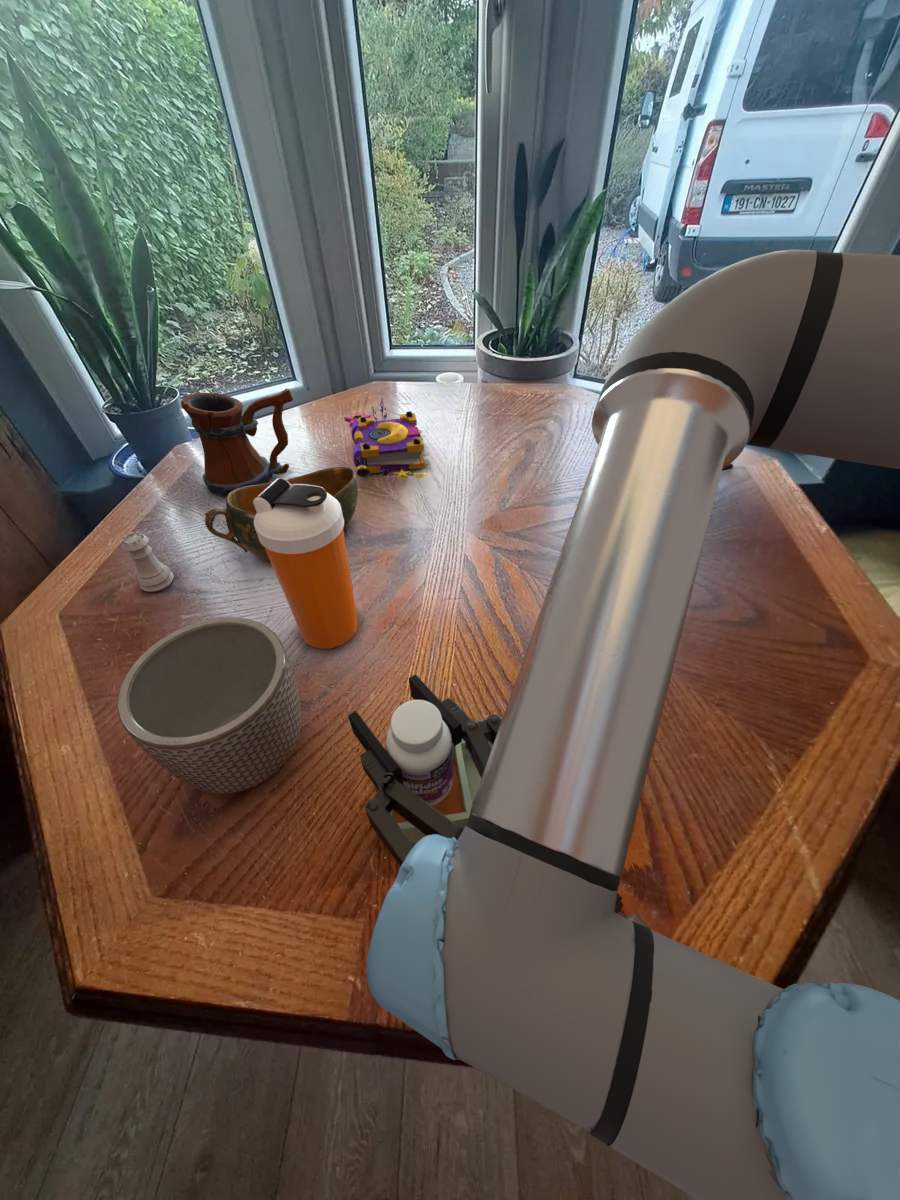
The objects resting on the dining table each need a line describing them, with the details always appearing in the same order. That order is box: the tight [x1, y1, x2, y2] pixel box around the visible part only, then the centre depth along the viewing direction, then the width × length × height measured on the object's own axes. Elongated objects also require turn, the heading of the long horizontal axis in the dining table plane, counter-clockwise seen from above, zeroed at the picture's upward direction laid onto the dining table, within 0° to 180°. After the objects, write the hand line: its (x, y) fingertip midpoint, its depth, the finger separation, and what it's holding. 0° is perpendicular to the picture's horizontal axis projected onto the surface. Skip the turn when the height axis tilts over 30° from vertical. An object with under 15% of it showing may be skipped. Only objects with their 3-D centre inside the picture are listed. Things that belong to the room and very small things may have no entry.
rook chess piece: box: [121, 531, 175, 593], centre depth 70 cm, size 4×4×8 cm
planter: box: [116, 616, 303, 795], centre depth 49 cm, size 14×14×13 cm
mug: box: [179, 388, 294, 498], centre depth 87 cm, size 18×12×15 cm, turn 107°
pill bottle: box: [385, 699, 453, 806], centre depth 43 cm, size 5×5×10 cm
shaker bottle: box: [253, 477, 359, 650], centre depth 58 cm, size 9×9×20 cm
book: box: [343, 397, 427, 482], centre depth 92 cm, size 14×25×12 cm, turn 10°
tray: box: [390, 739, 493, 845], centre depth 48 cm, size 15×8×4 cm, turn 99°
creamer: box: [204, 466, 359, 564], centre depth 75 cm, size 13×20×10 cm, turn 99°
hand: (384, 703), depth 45 cm, fingers closed on pill bottle, 5 cm apart
